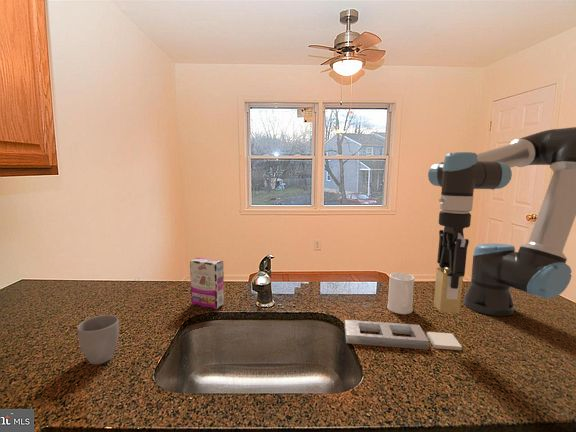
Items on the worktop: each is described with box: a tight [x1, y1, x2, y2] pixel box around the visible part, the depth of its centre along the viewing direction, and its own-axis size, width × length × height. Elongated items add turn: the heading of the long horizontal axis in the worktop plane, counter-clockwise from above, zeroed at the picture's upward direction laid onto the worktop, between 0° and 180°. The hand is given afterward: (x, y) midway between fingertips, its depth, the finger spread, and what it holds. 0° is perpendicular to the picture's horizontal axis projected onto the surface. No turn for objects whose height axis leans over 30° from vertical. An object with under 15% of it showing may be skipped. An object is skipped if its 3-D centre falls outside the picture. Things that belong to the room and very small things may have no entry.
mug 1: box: [77, 314, 120, 365], centre depth 79 cm, size 12×9×10 cm
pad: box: [426, 331, 463, 351], centre depth 87 cm, size 7×7×1 cm
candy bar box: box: [189, 257, 225, 310], centre depth 109 cm, size 11×5×16 cm, turn 68°
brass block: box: [433, 267, 464, 314], centre depth 85 cm, size 5×5×12 cm
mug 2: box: [386, 272, 415, 315], centre depth 106 cm, size 12×8×12 cm
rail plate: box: [344, 319, 430, 350], centre depth 89 cm, size 22×9×2 cm, turn 83°
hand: (447, 294), depth 85 cm, fingers closed on brass block, 5 cm apart
